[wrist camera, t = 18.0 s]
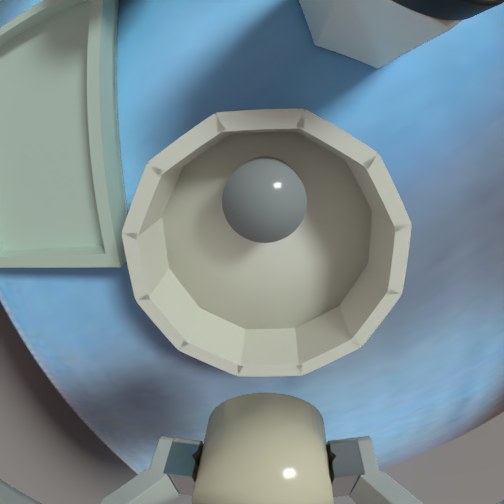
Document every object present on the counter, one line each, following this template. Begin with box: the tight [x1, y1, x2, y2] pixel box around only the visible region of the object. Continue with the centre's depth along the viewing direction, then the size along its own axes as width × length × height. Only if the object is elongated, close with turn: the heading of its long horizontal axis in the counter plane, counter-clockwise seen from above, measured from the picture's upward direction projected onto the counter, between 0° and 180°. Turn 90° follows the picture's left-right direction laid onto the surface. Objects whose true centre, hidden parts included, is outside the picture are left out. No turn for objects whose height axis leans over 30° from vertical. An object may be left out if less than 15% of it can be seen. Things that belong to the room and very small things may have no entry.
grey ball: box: [222, 156, 307, 243], centre depth 17 cm, size 4×4×4 cm
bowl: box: [122, 109, 411, 376], centre depth 19 cm, size 16×16×5 cm
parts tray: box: [0, 0, 128, 268], centre depth 18 cm, size 22×16×2 cm
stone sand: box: [192, 393, 334, 504], centre depth 9 cm, size 4×4×4 cm
